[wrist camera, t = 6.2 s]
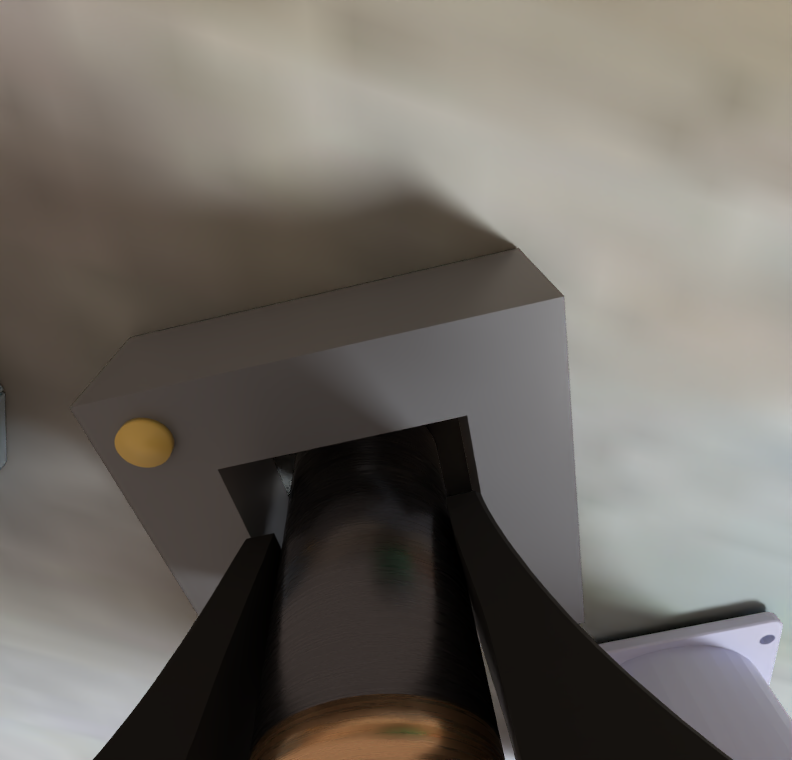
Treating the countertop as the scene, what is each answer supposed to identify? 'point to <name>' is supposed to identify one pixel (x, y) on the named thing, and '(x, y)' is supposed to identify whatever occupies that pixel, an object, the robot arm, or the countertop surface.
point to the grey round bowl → (2, 429)
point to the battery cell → (372, 615)
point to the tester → (346, 409)
